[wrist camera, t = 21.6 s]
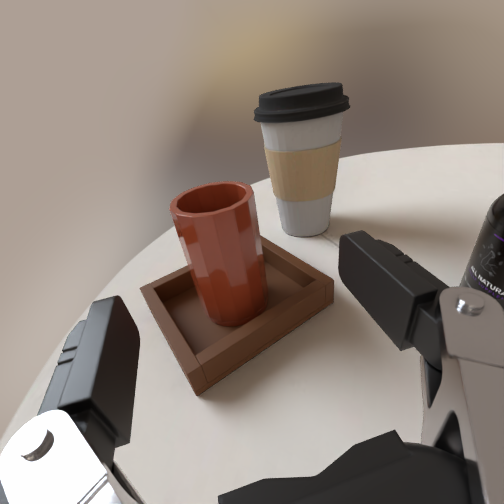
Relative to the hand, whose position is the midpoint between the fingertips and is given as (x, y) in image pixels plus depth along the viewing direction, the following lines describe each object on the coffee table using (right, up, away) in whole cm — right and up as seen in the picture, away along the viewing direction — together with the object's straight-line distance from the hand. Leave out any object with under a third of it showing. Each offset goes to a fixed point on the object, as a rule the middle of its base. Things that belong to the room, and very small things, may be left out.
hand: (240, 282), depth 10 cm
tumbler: (-1, -3, +15) cm, 15 cm away
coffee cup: (+7, +4, +25) cm, 27 cm away
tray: (-1, -4, +15) cm, 15 cm away
